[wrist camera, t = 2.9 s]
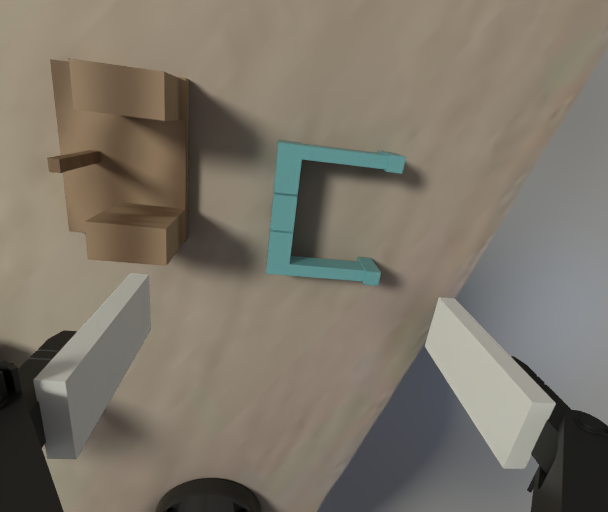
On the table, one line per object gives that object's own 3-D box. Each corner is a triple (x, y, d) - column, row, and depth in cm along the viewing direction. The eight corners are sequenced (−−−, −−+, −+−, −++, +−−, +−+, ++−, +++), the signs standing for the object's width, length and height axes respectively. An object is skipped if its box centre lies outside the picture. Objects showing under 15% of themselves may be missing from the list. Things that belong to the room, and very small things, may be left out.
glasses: (392, 152, 36) (405, 156, 32) (368, 270, 41) (378, 285, 37) (278, 138, 35) (278, 140, 31) (266, 261, 39) (266, 277, 36)
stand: (189, 79, 32) (164, 68, 25) (187, 237, 38) (166, 267, 30) (58, 61, 31) (-10, 44, 24) (75, 227, 36) (24, 256, 29)
